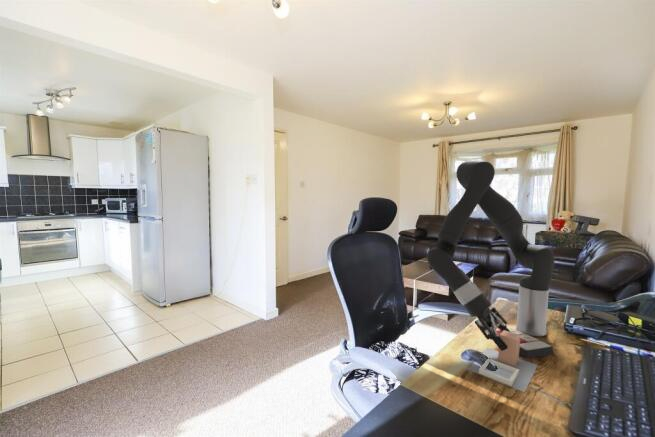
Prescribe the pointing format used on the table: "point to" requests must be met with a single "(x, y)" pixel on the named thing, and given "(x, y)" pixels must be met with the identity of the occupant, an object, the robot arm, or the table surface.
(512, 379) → the build board
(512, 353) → the pillar block
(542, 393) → the table surface
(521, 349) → the calculator
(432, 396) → the table surface
